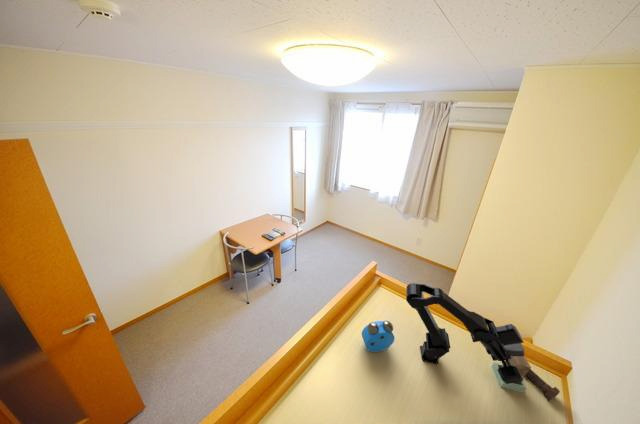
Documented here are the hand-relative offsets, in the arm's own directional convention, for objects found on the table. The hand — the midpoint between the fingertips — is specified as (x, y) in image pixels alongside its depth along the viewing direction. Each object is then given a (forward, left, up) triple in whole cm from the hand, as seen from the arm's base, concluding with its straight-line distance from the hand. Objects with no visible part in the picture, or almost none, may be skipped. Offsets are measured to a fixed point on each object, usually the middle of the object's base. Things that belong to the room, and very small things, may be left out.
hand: (510, 367), depth 89 cm
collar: (+1, 0, -7) cm, 8 cm away
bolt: (+11, +3, -8) cm, 14 cm away
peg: (+1, 0, -7) cm, 8 cm away
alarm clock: (-52, 0, -8) cm, 52 cm away
